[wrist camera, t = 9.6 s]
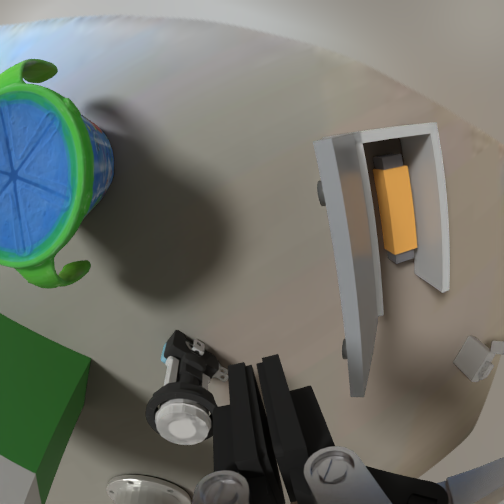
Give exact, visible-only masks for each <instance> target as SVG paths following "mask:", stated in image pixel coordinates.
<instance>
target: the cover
mask: <svg viewBox="0 0 504 504" xmlns="http://www.w3.org/2000/svg"><path fill="white" fill-rule="evenodd" d="M313 144H314V148H315V153H316V158H317V162H318V167H319V172H320V177H321V181H318V184H317V191H318V197H319V201H320V204H321V205H322V206H326V208H327V214H328V219H329V225H330V231H331V237H332V243H333V249H334V255H335V262H336V268H337V275H338V282H339V290H340V297H341V305H342V313H343V321H344V330H345V339H344V340H343V345H342V356H343V359H348V370H349V382H350V395H351V397H364V395H365V390H366V385H367V381H368V376H369V371H370V366H371V360H372V355H373V349H374V343H375V337H376V331H377V325H378V316H377V300H376V287H375V276H374V265H373V256H372V247H371V238H370V230H369V223H368V216H367V209H366V202H365V196H364V189H363V183H362V177H361V172H360V166H359V161H358V156H357V150H356V145H355V141H354V136H353V133H350V134H343V135H338V136H334V137H330V138H326V139H321V140H317V141H313Z"/></svg>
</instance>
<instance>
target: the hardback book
mask: <svg viewBox="0 0 504 504" xmlns="http://www.w3.org/2000/svg"><path fill="white" fill-rule="evenodd" d="M90 362H91V358H89V357H87V356H85V355H82V354H80V353H78V352H75V351H73V350H71V349H69V348H67V347H64V346H62V345H60V344H58V343H56V342H54V341H52V340H50V339H48V338H46V337H44V336H42V335H40V334H38V333H36V332H34V331H32V330H30V329H28V328H26V327H24V326H22V325H20V324H18V323H17V322H15V321H13V320H11V319H9V318H7V317H6V316H4V315H2V314H0V504H45V502H46V499H47V496H48V493H49V491H50V488H51V485H52V482H53V480H54V477H55V474H56V472H57V469H58V466H59V464H60V461H61V458H62V456H63V453H64V451H65V448H66V446H67V443H68V441H69V438H70V436H71V434H72V431H73V429H74V426H75V424H76V422H77V419H78V417H79V415H80V412H81V410H82V408H83V406H84V400H85V393H86V386H87V380H88V374H89V368H90Z"/></svg>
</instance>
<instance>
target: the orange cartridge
mask: <svg viewBox="0 0 504 504" xmlns="http://www.w3.org/2000/svg"><path fill="white" fill-rule="evenodd" d="M373 161H374V166H375V169H373V175H374V180H375V186H376V192H377V198H378V204H379V211H380V218H381V225H382V233H383V241H384V249H386V250H387V255H388V258H389V259H390V260H392V261H393V262H395V263H396V264H398V263H401V262H404V261H407V260H409V259H412V258H414V249H415V248H417V237H416V226H415V216H414V207H413V199H412V192H411V185H410V178H409V171H408V166H407V165H403V161H402V156H401V154H387V155H381V156H376V157H373Z"/></svg>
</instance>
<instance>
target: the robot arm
mask: <svg viewBox="0 0 504 504" xmlns="http://www.w3.org/2000/svg"><path fill="white" fill-rule="evenodd" d="M262 360H263V362H262V363H258V364H257V369H258V374H259V379H260V384H261V389H262V394H263V399H264V404H265V409H266V412H265V409H264V405H263V402H262V399H261V395H260V392H259V388H258V385H257V382H256V378H255V375H254V371H253V368H252V365H249V366H245V363H244V362H243V363H238V364H234V365H229V366H228V379H229V394H230V405H226V406H220V407H215V408H214V409H213V451H214V472H213V473H211V474H208V475H207V476H205V477H204V478H202V479H201V480H200V481H199V483H198V484H197V486H196V488H195V491H194V495H193V500H192V504H285V499H284V494H283V489H282V485H281V480H280V475H279V471H278V466H279V469H280V472H281V475H282V478H283V481H284V484H285V487H286V490H287V493H288V496H289V499H290V502H291V503H292V502H296V501H297V503H298V504H504V458H500V459H498V460H495V461H493V462H490V463H488V464H485V465H483V466H480V467H477V468H475V469H472V470H469V471H466V472H463V473H460V474H458V475H454V476H451V477H448V478H447V479H446V481H443V482H439V483H434V482H430V481H425V480H420V479H416V478H411V477H407V476H402V475H398V474H394V473H390V472H386V471H382V470H378V469H375V468H371V467H368V466H365V465H364V464H363V462H362V461H361V459H360V458H359V456H358V455H357V454H356V453H355V452H354V451H352V450H350V449H348V448H346V447H340V446H335V445H334V442H333V440H332V437H331V435H330V432H329V430H328V427H327V425H326V422H325V420H324V417H323V414H322V412H321V409H320V407H319V404H318V402H317V399H316V397H315V394H314V392H313V389H312V387H311V386H307V387H303V388H300V389H296V390H292V391H289V388H288V385H287V382H286V378H285V375H284V372H283V369H282V365H281V362H280V359H279V355H278V354H277V355H273V356H268V357H264V358H262ZM266 414H267V415H266ZM276 460H277V461H276ZM277 463H278V466H277ZM107 493H108V495H109V497H110V498H111V499H112V500H113V501H114V502H115V504H191V498H190V496H189V495H188V494H187V492H185V491H184V490H183V489H181V488H180V487H178V486H176V485H174V484H172V483H170V482H167V481H164V480H161V479H158V478H154V477H149V476H143V475H121V476H117V477H114V478H112V479H111V480H110V481H109V482H108V485H107Z"/></svg>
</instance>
